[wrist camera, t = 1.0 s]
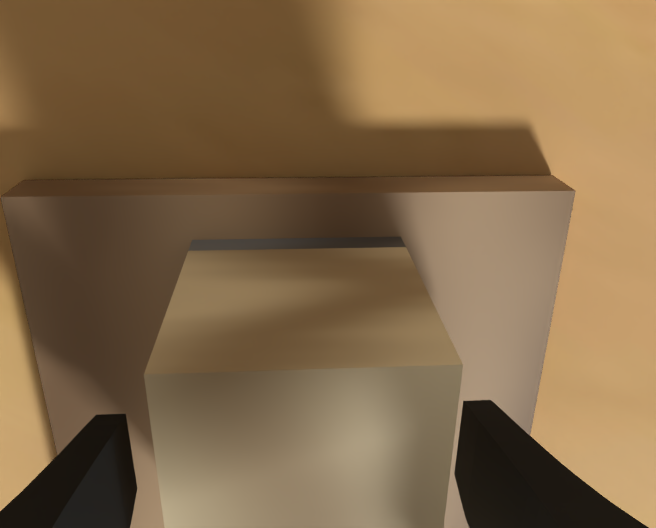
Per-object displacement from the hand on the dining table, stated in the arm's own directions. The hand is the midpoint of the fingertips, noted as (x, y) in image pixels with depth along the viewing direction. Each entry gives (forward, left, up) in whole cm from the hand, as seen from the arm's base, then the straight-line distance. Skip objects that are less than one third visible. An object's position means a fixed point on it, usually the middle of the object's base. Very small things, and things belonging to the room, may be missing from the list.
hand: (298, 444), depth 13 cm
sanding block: (0, 0, -2) cm, 2 cm away
